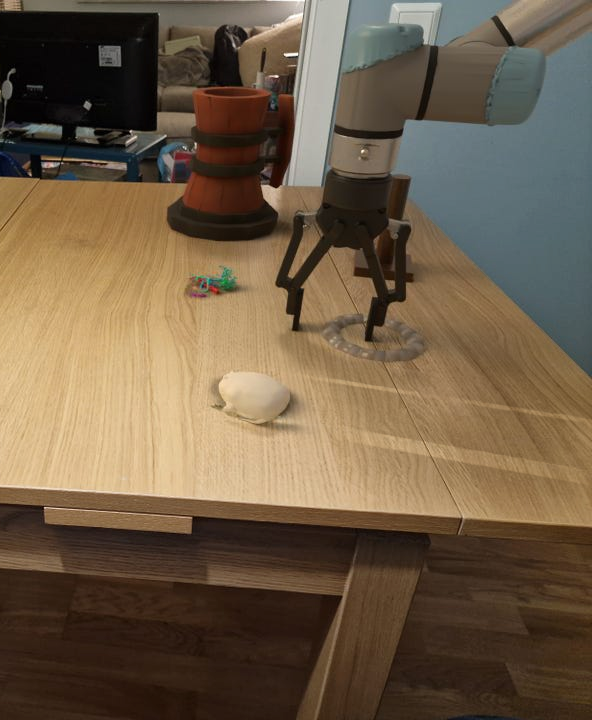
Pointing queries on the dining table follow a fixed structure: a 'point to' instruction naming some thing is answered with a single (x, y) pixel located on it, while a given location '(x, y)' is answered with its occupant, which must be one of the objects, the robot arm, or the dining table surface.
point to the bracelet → (406, 353)
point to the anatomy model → (210, 281)
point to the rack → (388, 234)
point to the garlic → (253, 396)
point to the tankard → (232, 165)
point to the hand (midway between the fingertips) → (329, 340)
